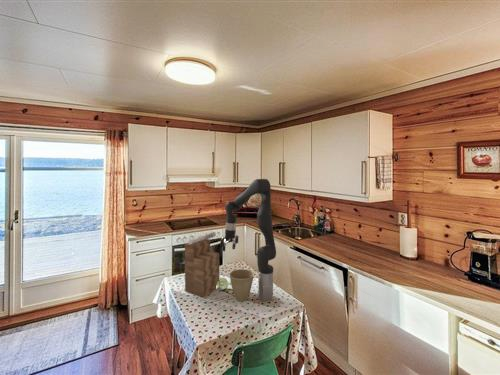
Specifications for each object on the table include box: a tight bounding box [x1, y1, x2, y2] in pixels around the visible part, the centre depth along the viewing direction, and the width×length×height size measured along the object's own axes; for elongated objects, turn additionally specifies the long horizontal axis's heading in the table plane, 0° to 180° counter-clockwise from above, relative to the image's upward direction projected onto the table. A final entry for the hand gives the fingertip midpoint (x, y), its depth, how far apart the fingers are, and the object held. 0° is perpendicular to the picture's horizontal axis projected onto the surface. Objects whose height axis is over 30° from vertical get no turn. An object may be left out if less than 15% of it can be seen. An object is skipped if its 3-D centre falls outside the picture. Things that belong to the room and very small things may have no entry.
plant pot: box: [229, 268, 255, 303], centre depth 154 cm, size 15×15×16 cm
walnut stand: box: [184, 238, 220, 299], centre depth 165 cm, size 16×16×32 cm
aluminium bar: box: [188, 231, 216, 245], centre depth 170 cm, size 24×3×3 cm, turn 149°
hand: (228, 250), depth 180 cm, fingers open, 8 cm apart
